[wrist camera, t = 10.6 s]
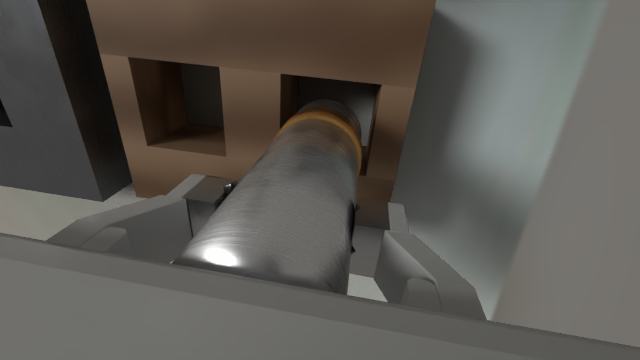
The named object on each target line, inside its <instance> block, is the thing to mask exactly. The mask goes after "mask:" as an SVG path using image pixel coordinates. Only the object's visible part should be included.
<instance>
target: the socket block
mask: <svg viewBox="0 0 640 360" xmlns="http://www.w3.org/2000/svg"><path fill="white" fill-rule="evenodd" d="M132 182H133V181H132V177H131V173H130V169H129V165H128V161H127V157H126V153H125V150H124V146H123V142H122V138H121V134H120V130H119V126H118V122H117V119H116V115H115V111H114V107H113V103H112V99H111V95H110V92H109V88H108V84H107V80H106V76H105V72H104V68H103V64H102V61H101V57H100V53H99V49H98V45H97V41H96V37H95V33H94V30H93V26H92V22H91V18H90V14H89V10H88V6H87V2H86V0H0V185H1V186H7V187H13V188H19V189H26V190H32V191H38V192H44V193H51V194H57V195H63V196H69V197H75V198H82V199H88V200H94V201H100V202H104V201H105V200H107V199H108V198H110V197H111V196H113V195H114V194H115V193H117V192H118V191H120V190H121V189H123V188H124V187H126V186H127V185H129V184H130V183H132Z"/></svg>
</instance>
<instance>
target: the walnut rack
mask: <svg viewBox="0 0 640 360" xmlns="http://www.w3.org/2000/svg"><path fill="white" fill-rule="evenodd" d="M86 2H87V6H88V10H89V14H90V18H91V22H92V26H93V30H94V33H95V37H96V41H97V45H98V49H99V53H100V57H101V61H102V64H103V68H104V72H105V76H106V80H107V84H108V88H109V92H110V95H111V99H112V103H113V107H114V111H115V115H116V119H117V122H118V126H119V130H120V134H121V138H122V142H123V146H124V150H125V153H126V157H127V161H128V165H129V169H130V173H131V177H132V181H133V184H134V188H135V192H136V196H137V197H143V198H153V197H156V196H159V195H164V196H166V195H167V194H168V193H169V192H171V191H172V190H173V189H174V188H175V187H177V186H178V185H179V184H180V183H181V182H183V181H184V180H185V179H186V178H188V177H189V176H190V175H191V174H203V175H208V176H215V177H221V178H227V179H233V180H237V181H238V183H239V182H240V181H241V180H242V178H243V177H244V176H245V175H246V174H247V172H248V171H249V170H250V169H251V168H252V166H253V165H254V164H255V163H256V162H257V160H258V159H259V158H260V157H261V156H262V154H263V153H264V152H265V151H266V150H267V148H268V147H269V146H270V145H271V144H272V142H273V140H274V138H275V136H276V134H277V133H278V132H279V130H280V129H281V128H282V127H283V126H284V124H285V123H286V122H287V121H288V120H289V119H290V118H291V117H292V116H294V115H295V114H296V113H297V112H298V91H299V76H308V77H317V78H326V79H335V80H344V81H353V82H363V83H372V84H377V89H376V95H375V101H374V107H373V113H372V119H371V125H370V131H369V137H368V143H367V147H366V146H362V158H361V168H360V173H359V175H358V178H357V190H356V198H360V199H369V200H377V201H385V202H390V199H391V195H392V190H393V186H394V181H395V177H396V173H397V168H398V164H399V160H400V155H401V151H402V146H403V142H404V138H405V133H406V129H407V125H408V120H409V116H410V111H411V107H412V103H413V98H414V94H415V90H416V85H417V81H418V76H419V72H420V68H421V63H422V59H423V55H424V50H425V46H426V41H427V37H428V33H429V28H430V24H431V20H432V15H433V11H434V6H435V2H436V0H86ZM179 63H189V64H198V65H207V66H216V67H219V70H220V83H221V95H222V107H223V120H224V128H219V127H212V126H204V125H196V124H188V122H187V114H186V107H185V100H184V93H183V86H182V79H181V72H180V65H179ZM355 203H356V201H355Z"/></svg>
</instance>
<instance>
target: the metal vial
mask: <svg viewBox="0 0 640 360" xmlns="http://www.w3.org/2000/svg"><path fill="white" fill-rule="evenodd" d="M361 158H362V144H361V127H360V124H359V121H358V119H357V117H356V116H355V114H354V113H353V112H352V111H351V109H349V108H348V107H347V106H345V105H344V104H342V103H340V102H338V101H335V100H330V99H319V100H315V101H312V102H310V103H308V104H306V105H305V106H303V107H302V108H301V109H300V110H299V111H298V112H297V113H296V114H295V115H294V116H292V117H291V118H290V119H289V120H288V121H287V122H286V123H285V124H284V126H283V127H282V128H281V129H280V130H279V132H278V133H277V134H276V136H275V138H274V140H273V142H272V144H271V145H270V146H269V147H268V148H267V150H266V151H265V152H264V153H263V154H262V156H261V157H260V158H259V159H258V160H257V162H256V163H255V164H254V165H253V166H252V168H251V169H250V170H249V171H248V172H247V174H246V175H245V176H244V177H243V178H242V180H241V181H240V182H239V183H238V184H237V186H236V187H235V188H234V189H233V190H232V192H231V193H230V194H229V195H228V196H227V198H226V199H225V200H224V201H223V202H222V204H221V205H220V206H219V207H218V208H217V210H216V211H215V212H214V213H213V214H212V216H211V217H210V218H209V219H208V220H207V222H206V223H205V224H204V225H203V226H202V228H201V229H200V230H199V231H198V232H197V234H196V235H195V236H194V237H193V239H192V240H191V241H190V242H189V243H188V245H187V246H186V247H185V248H184V249H183V251H182V252H181V253H180V254H179V255H178V257H177V258H176V259H175V260H174V261H173V263H172V264H176V265H182V266H187V267H193V268H199V269H204V270H210V271H215V272H221V273H226V274H232V275H238V276H243V277H249V278H254V279H260V280H265V281H271V282H277V283H282V284H288V285H293V286H299V287H305V288H310V289H316V290H321V291H327V292H333V293H338V294H344V295H347V292H348V280H349V269H350V258H351V246H352V244H351V242H352V230H353V224H354V221H353V219H354V209H355V201H356V190H357V178H358V175H359V173H360V168H361Z"/></svg>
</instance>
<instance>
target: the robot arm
mask: <svg viewBox="0 0 640 360" xmlns="http://www.w3.org/2000/svg"><path fill="white" fill-rule="evenodd" d="M237 184H238V181H237V180H233V179H227V178H221V177H215V176H208V175H203V174H191V175H190V176H189V177H188V178H186V179H185V180H184V181H183V182H181V183H180V184H179V185H178V186H177V187H175V188H174V189H173V190H172V191H171V192H169V193H168V194H167V195H166V196H164V195H159V196H156V197H153V198H149V199H146V200H142V201H139V202H136V203H132V204H129V205H126V206H122V207H119V208H115V209H112V210H109V211H105V212H102V213H99V214H95V215H92V216H88V217H85V218H82V219H78V220H76V221H75V222H73V223H72V224H70V225H69V226H67V227H66V228H64V229H63V230H61V231H60V232H58V233H57V234H55V235H54V236H52V237H51V238H49V239H48V240H46V241H43V240H37V239H31V238H26V237H20V236H15V235H9V234H4V233H0V360H640V348H639V347H634V346H628V345H623V344H617V343H611V342H606V341H600V340H595V339H589V338H584V337H578V336H572V335H566V334H561V333H555V332H550V331H544V330H539V329H533V328H528V327H522V326H517V325H511V324H505V323H500V322H494V321H489V320H487V319H486V316H485V314H484V311H483V309H482V306H481V304H480V301H479V299H478V296H477V293H476V291H475V288H474V287H473V286H472V285H471V284H470V283H469V282H467V281H466V280H465V279H464V278H463V277H462V276H461V275H459V274H458V273H457V272H456V271H455V270H454V269H453V268H451V267H450V266H449V265H448V264H447V263H446V262H445V261H444V260H442V259H441V258H440V257H439V256H438V255H437V254H436V253H434V252H433V251H432V250H431V249H430V248H429V247H428V246H426V245H425V244H424V243H423V242H422V241H421V240H420V239H419V238H417V237H416V236H415V235H414V234H409V229H408V224H407V218H406V213H405V208H404V205H403V204H402V203H393V202H385V201H377V200H369V199H360V198H356V203H355V209H354V219H353V221H354V224H353V230H352V242H351V244H352V246H351V258H350V269H349V273H351V274H356V275H361V276H366V277H371V278H374V280H375V282H376V283H377V285H378V287H379V288H380V290H381V291H382V293H383V295H384V296H385V298H386V299H387V301H388V302H383V301H377V300H372V299H366V298H360V297H355V296H349V295H344V294H338V293H333V292H327V291H321V290H316V289H310V288H305V287H299V286H293V285H288V284H282V283H277V282H271V281H265V280H260V279H254V278H249V277H243V276H238V275H232V274H226V273H221V272H215V271H210V270H204V269H199V268H193V267H187V266H182V265H176V264H171V263H170V262H171V261H173V260H175V259H176V258H177V257H178V255H179V254H180V253H181V252H182V251H183V249H184V248H185V247H186V246H187V245H188V243H189V242H190V241H191V240H192V239H193V237H194V236H195V235H196V234H197V232H198V231H199V230H200V229H201V228H202V226H203V225H204V224H205V223H206V222H207V220H208V219H209V218H210V217H211V216H212V214H213V213H214V212H215V211H216V210H217V208H218V207H219V206H220V205H221V204H222V202H223V201H224V200H225V199H226V198H227V196H228V195H229V194H230V193H231V192H232V190H233V189H234V188H235V187H236V186H237Z"/></svg>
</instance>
